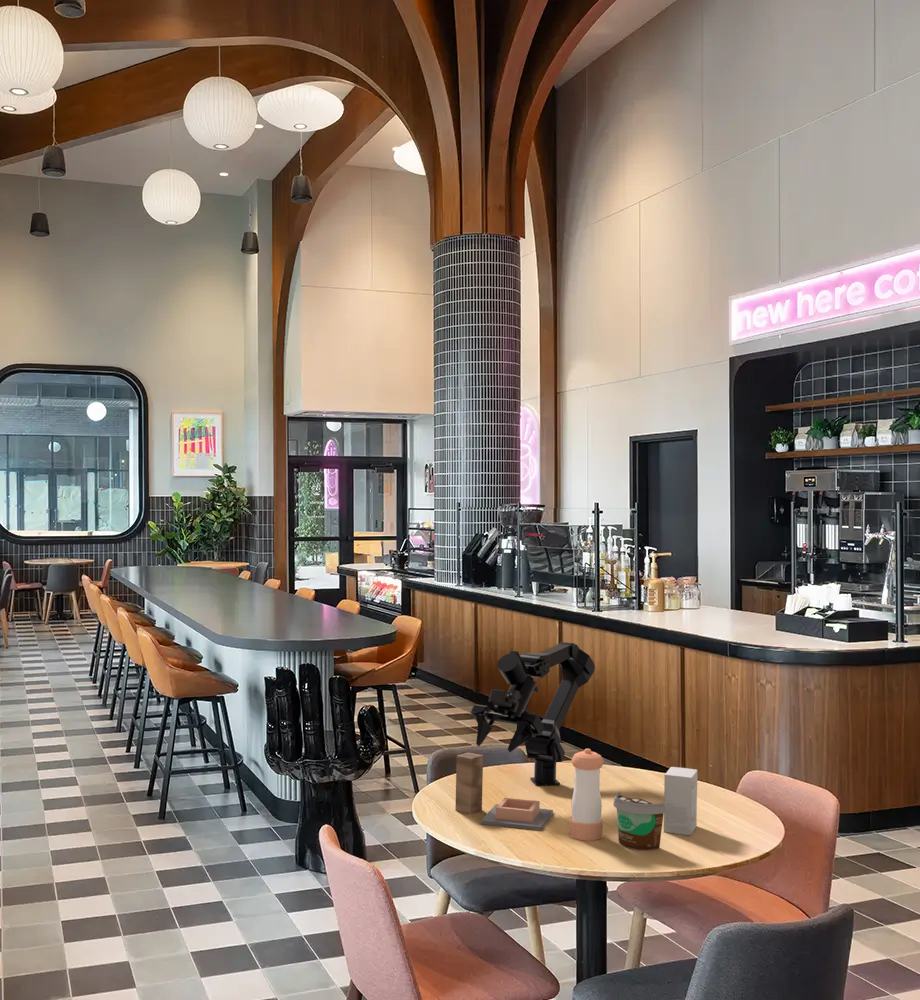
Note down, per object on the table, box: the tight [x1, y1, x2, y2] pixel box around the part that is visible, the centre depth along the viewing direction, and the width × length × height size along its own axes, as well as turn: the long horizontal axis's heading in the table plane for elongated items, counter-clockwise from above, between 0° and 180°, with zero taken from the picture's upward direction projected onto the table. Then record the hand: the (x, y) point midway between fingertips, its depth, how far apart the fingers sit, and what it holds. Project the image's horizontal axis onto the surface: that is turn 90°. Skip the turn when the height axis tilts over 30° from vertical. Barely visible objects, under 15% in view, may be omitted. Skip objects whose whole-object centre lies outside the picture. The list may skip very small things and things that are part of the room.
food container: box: [613, 791, 666, 851], centre depth 226 cm, size 12×6×10 cm, turn 47°
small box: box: [663, 766, 698, 836], centre depth 239 cm, size 8×6×13 cm
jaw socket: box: [480, 797, 554, 832], centre depth 244 cm, size 14×14×3 cm
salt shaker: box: [568, 748, 604, 842], centre depth 232 cm, size 7×7×19 cm
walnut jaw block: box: [454, 752, 484, 815], centre depth 250 cm, size 4×4×13 cm
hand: (493, 748), depth 255 cm, fingers open, 9 cm apart
